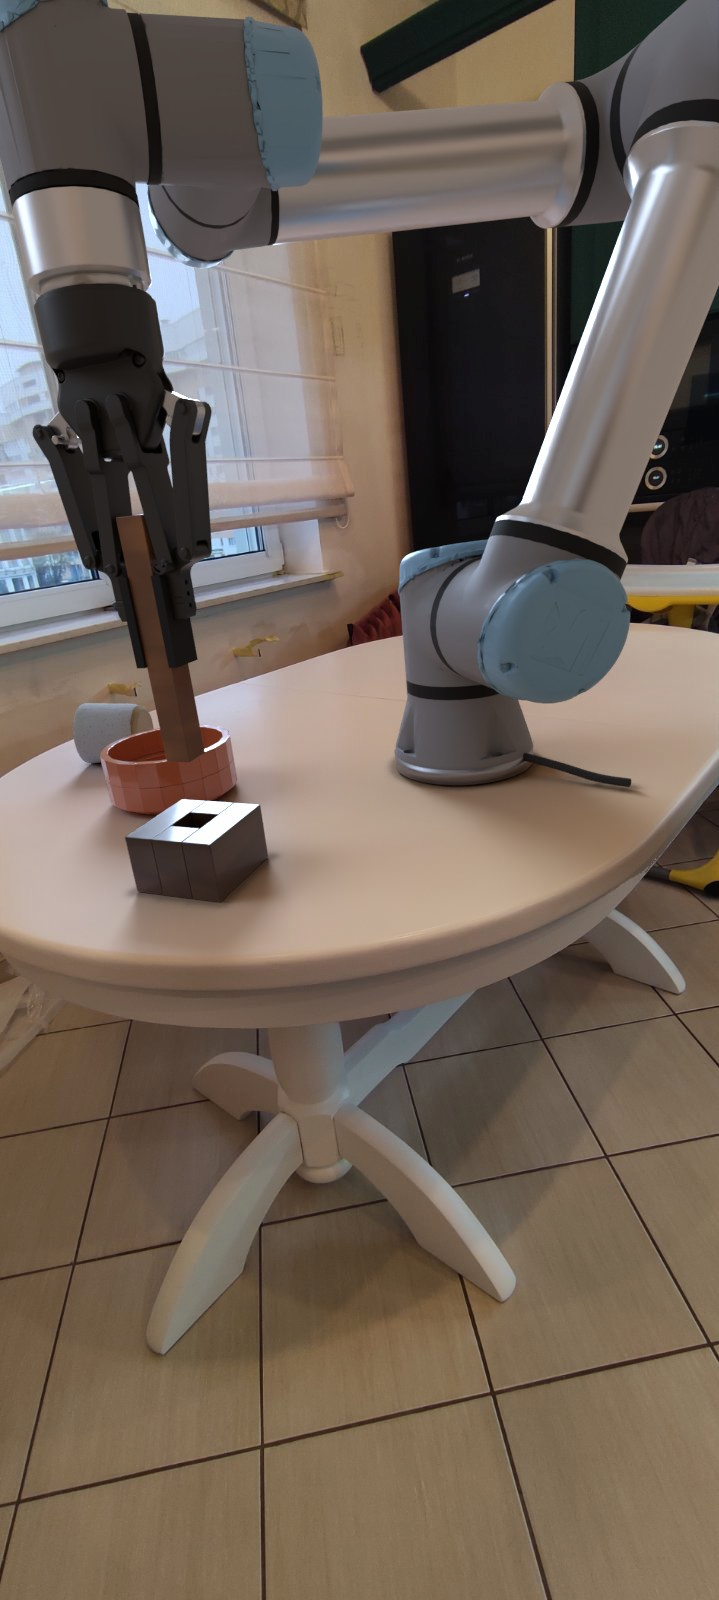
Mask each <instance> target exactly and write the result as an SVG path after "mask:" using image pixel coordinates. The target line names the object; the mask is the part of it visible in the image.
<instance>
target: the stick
mask: <svg viewBox="0 0 719 1600" xmlns="http://www.w3.org/2000/svg"><path fill="white" fill-rule="evenodd" d="M116 522H117V527H118V531H119V536H120V541H121V546H122V550H123V555H124V560H125V565H126V569H127V574H128V578H129V583H130V588H131V593H132V597H133V602H134V607H135V612H136V616H137V621H138V626H139V631H140V636H141V640H142V645H143V650H144V655H145V659H146V664H147V668H146V669H147V673H148V678H149V679H148V680H149V683H150V688H151V692H152V696H153V703H154V707H155V711H156V716H157V721H158V726H159V728H160V731H161V736H162V741H163V745H164V750H165V755H166V760H167V761H171V762H191V761H193V760H194V759H196V758H198V757H199V756H201V755H203V754H204V753H205V751H204V745H203V740H202V735H201V729H200V725H201V724H200V720H199V714H198V708H197V702H196V698H195V693H194V687H193V682H192V677H191V672H190V665H189V663H188V664H185V665H183V666H180V667H178V668H169V666H168V661H167V656H166V651H165V646H164V641H163V636H162V631H161V626H160V621H159V616H158V611H157V606H156V601H155V596H154V591H153V586H152V581H151V576H153V575H159V574H157V573H155V572H154V571H153V568H152V567H155V566H158V563H157V559H156V556H155V552H154V548H153V545H152V541H151V538H150V534H149V531H148V527H147V524H146V520H145V517H144V513H143V514H142V513H140V514H132V516H123V517H116Z"/></svg>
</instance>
